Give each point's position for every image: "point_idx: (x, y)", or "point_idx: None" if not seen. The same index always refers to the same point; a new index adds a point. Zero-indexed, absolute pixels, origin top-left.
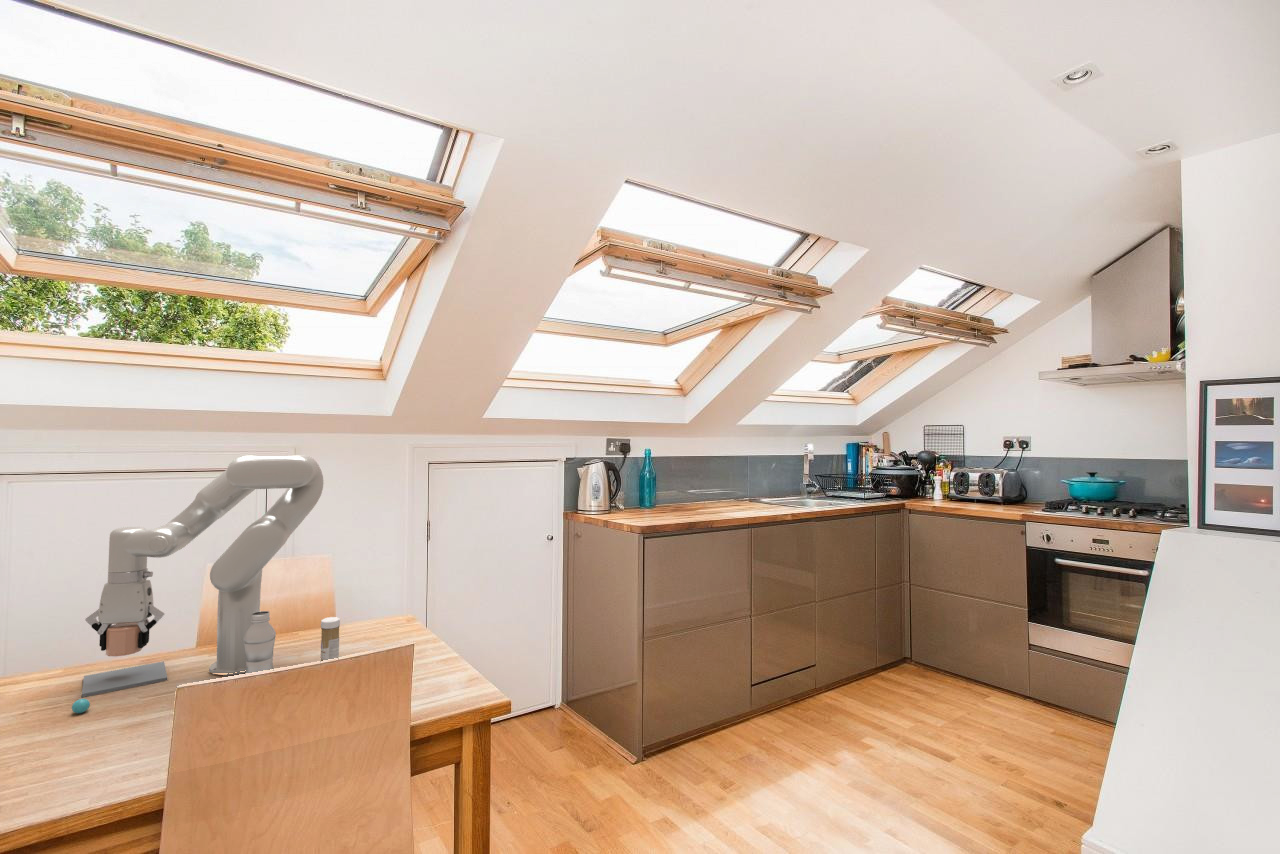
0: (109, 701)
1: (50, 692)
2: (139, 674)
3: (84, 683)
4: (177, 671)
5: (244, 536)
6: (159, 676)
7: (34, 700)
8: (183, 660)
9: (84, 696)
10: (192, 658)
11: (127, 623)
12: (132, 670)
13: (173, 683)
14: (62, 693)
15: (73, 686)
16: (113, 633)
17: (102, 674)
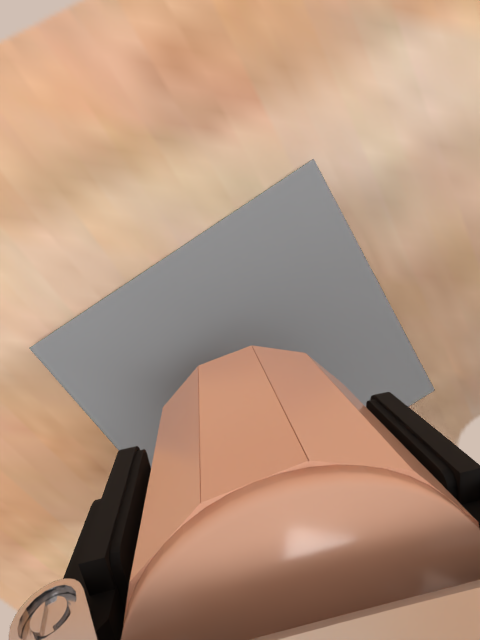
0: None
1: (20, 479)
2: (295, 349)
3: (116, 439)
4: (421, 279)
5: None
6: (397, 379)
7: (30, 546)
8: (382, 106)
9: None
10: (416, 76)
11: (288, 574)
12: (228, 292)
13: (461, 414)
14: (83, 490)
15: (65, 424)
16: None
17: (112, 336)
